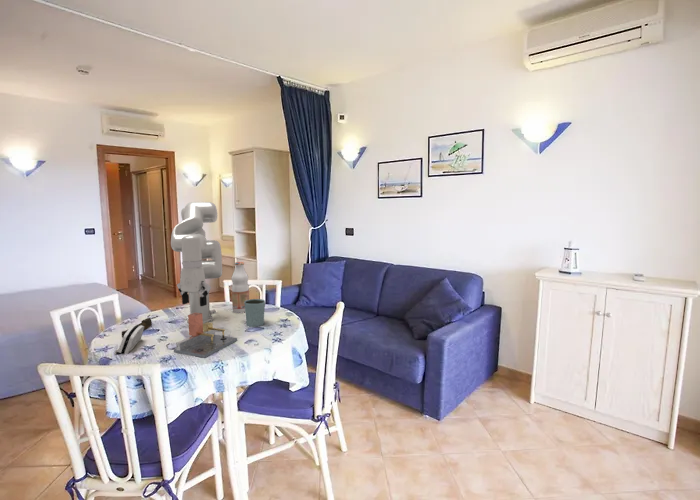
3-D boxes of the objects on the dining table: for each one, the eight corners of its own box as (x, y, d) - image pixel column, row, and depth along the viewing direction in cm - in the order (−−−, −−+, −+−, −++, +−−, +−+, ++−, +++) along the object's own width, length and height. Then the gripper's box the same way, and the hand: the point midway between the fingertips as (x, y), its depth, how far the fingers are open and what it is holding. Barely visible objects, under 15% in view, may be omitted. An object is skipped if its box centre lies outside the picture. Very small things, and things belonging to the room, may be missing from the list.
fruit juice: (230, 313, 206) (228, 263, 202) (235, 308, 215) (233, 261, 212) (246, 313, 206) (244, 263, 202) (251, 308, 215) (250, 261, 211)
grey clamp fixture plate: (208, 336, 170) (208, 320, 169) (237, 340, 164) (236, 324, 163) (173, 352, 152) (172, 335, 151) (204, 357, 146) (203, 340, 145)
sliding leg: (196, 338, 162) (195, 312, 161) (216, 341, 158) (215, 315, 157) (189, 341, 159) (188, 315, 157) (210, 345, 154) (208, 317, 153)
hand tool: (129, 339, 167) (128, 329, 166) (121, 339, 167) (120, 329, 167) (156, 326, 185) (156, 317, 185) (149, 325, 186) (148, 316, 185)
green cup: (243, 323, 189) (242, 300, 187) (262, 320, 194) (261, 297, 192) (248, 328, 180) (247, 304, 178) (268, 325, 185) (267, 302, 183)
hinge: (128, 340, 165) (135, 319, 165) (139, 342, 166) (146, 322, 166) (113, 355, 149) (121, 331, 148) (126, 357, 150) (133, 334, 150)
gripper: (169, 265, 155) (172, 305, 157) (201, 267, 149) (204, 308, 151) (183, 262, 162) (185, 301, 164) (215, 264, 156) (216, 304, 158)
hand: (194, 304), depth 157 cm, fingers open, 9 cm apart
